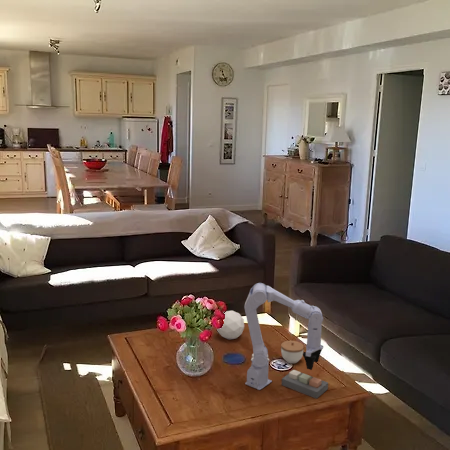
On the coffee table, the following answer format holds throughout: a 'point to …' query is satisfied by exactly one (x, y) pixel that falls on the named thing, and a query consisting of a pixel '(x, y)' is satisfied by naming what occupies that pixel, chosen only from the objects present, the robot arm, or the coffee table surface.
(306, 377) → the sage key
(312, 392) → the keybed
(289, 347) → the lidded jar
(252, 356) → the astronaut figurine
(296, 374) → the ivory key
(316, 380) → the pink block
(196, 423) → the coffee table surface
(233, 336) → the geometric shape
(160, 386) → the coffee table surface
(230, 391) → the coffee table surface
